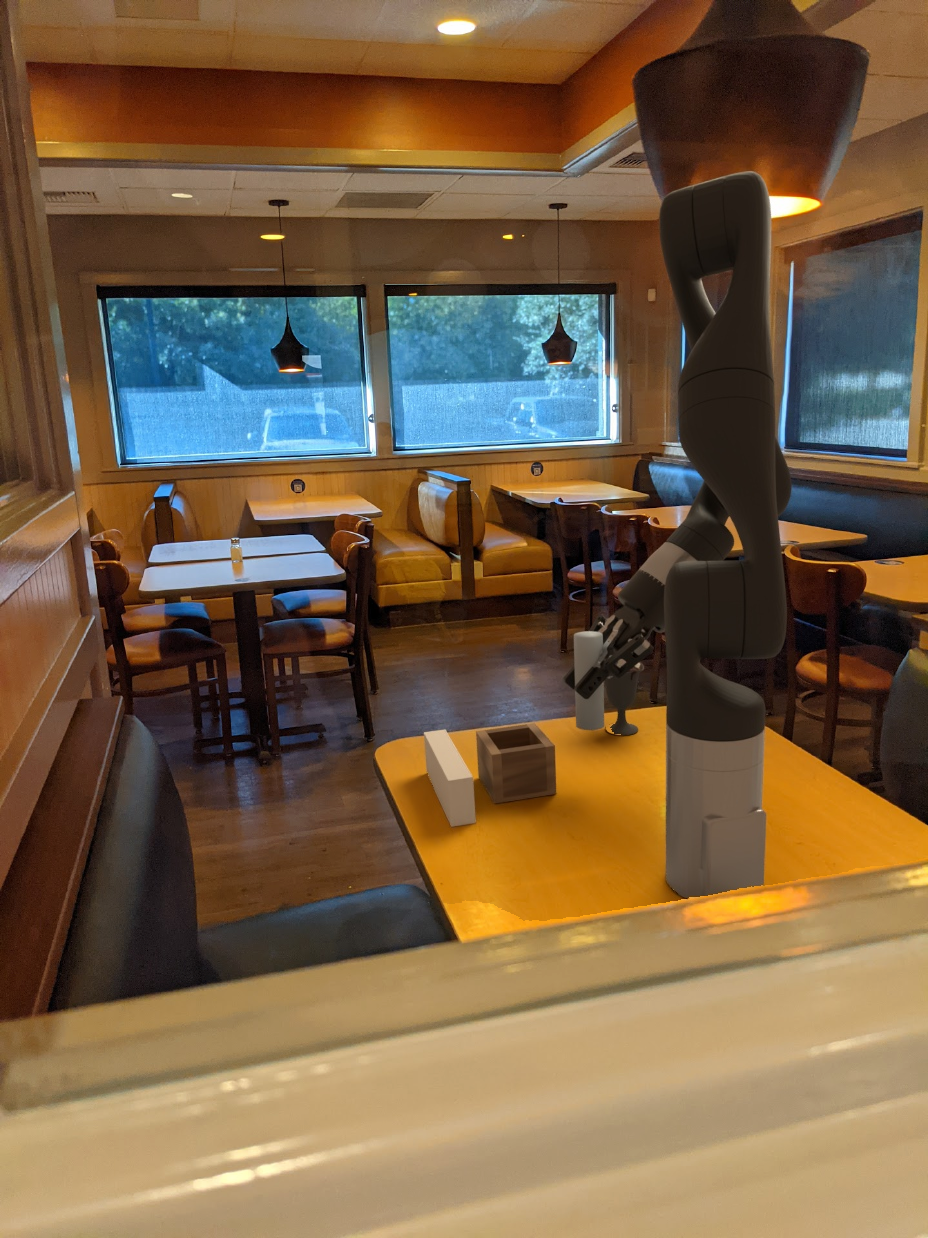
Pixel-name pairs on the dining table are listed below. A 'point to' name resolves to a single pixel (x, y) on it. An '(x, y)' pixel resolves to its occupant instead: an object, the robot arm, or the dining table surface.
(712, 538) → the robot arm
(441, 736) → the rail
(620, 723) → the sundae
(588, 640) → the gray cylinder
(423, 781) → the dining table surface
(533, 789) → the open wooden box
